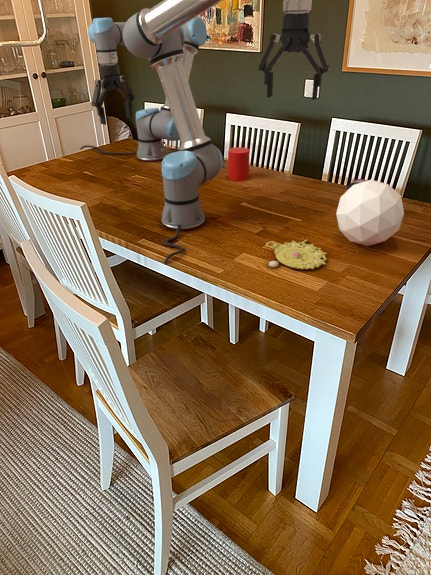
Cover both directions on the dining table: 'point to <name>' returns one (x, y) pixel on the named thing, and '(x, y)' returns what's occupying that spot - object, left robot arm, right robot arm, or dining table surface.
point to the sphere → (369, 212)
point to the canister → (238, 164)
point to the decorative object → (297, 255)
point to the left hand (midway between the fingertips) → (116, 121)
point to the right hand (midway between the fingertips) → (291, 98)
